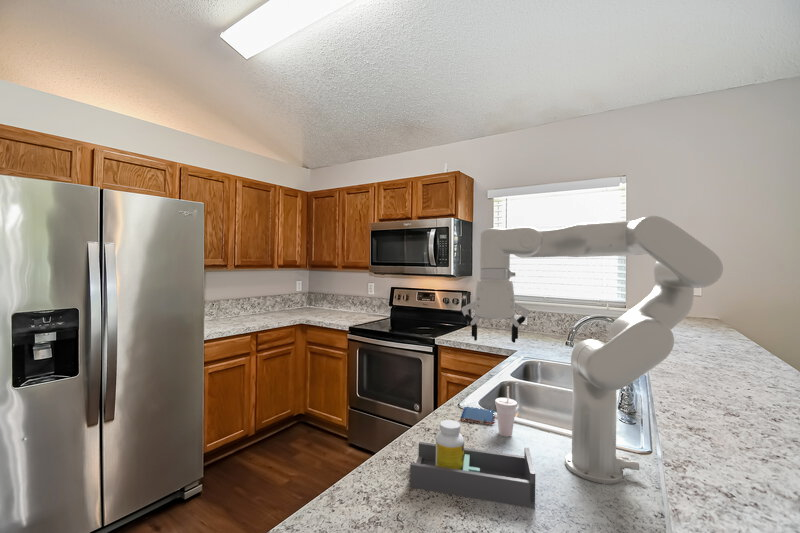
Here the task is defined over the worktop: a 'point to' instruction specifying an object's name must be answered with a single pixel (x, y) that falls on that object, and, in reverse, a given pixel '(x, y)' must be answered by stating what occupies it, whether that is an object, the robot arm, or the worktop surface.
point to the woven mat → (478, 415)
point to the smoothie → (505, 414)
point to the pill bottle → (450, 446)
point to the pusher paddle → (467, 464)
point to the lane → (478, 476)
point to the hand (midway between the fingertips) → (494, 340)
